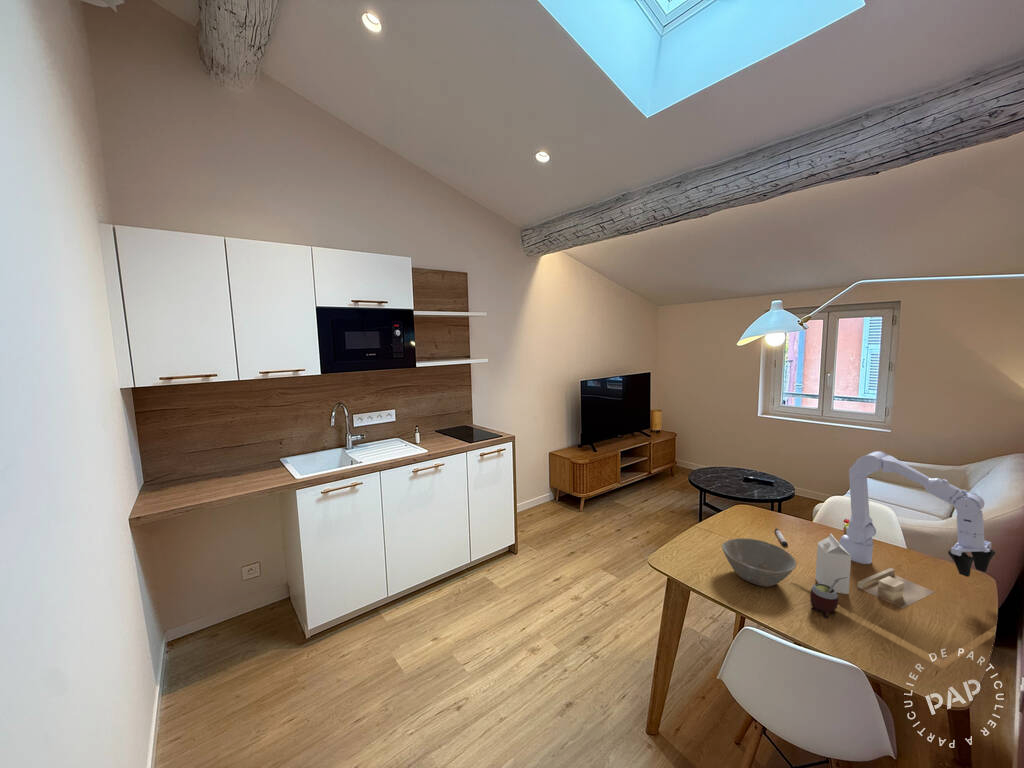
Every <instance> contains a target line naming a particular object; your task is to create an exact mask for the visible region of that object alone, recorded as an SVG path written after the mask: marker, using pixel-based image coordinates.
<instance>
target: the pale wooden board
mask: <svg viewBox="0 0 1024 768" xmlns="http://www.w3.org/2000/svg"><path fill="white" fill-rule="evenodd" d="M895 571H896V569H894V568H893V567H889V568H887V569H884V570H883V571H879V572H877V573H875V574H873V575H870V576H868V577H865V578H863V579H861V580H859V581H857V585H856V587H857V589H860V590H862V591H864V592H866V593H868V594H869V595H872V596H874V597H876V598H878V599H881V600H883V601H884V602H887V603H889V604H891V605H893V606H896V607H897V608H899V609H902V610H903V609H905V608H907V607H909V606H910V605H912V604H914V603H916V602H918V601H921V600H922V599H924V598H926V597H928V596H930V595H932V594H935V591H934V590H932V589H929V588H927V587H924V586H921V585H919V584H917V583H914V582H912V581H911V580H907V579H905V578H903V577H901V576H899V575H896V574H895ZM888 576H890V577H892V578H895V579H897V580H899V581H902V582H904V589H903V597H901V598H899V599H897V600H895V601H893V602H892V601H890V600H888V599H886V598H884V597H882V596H879V595H878V582H879V580H881V579H883V578H886V577H888Z"/></svg>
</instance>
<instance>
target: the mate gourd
mask: <svg viewBox="0 0 1024 768" xmlns="http://www.w3.org/2000/svg"><path fill="white" fill-rule="evenodd" d="M845 578H848V577H841V578H837V579H835V580H834V583H833V585H832V586H831V587H830V586H828V585H825V584H819V583H816V584H814V585H812V586H811V589H810V592H809V595H810V597H809V598H810V604H811V606H812V607H811V608H810V609H811V611H813V612H815V611H816V612H820V613H822V615H823V616H824V618H826V619H829V616H828V614H830V615H836V609H837V607H838V604H839V595H838V593H837V592H835V590H834V589H833V587H834V586H835V584H836V583H837V582H838V581H839V580H841V579H845Z"/></svg>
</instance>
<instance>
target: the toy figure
mask: <svg viewBox="0 0 1024 768" xmlns="http://www.w3.org/2000/svg"><path fill="white" fill-rule="evenodd" d="M849 521H850V519H848V518H845V519H843V529H842V531H843V532H845V533H846V530H847V529H848V527H849Z"/></svg>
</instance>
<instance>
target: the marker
mask: <svg viewBox="0 0 1024 768" xmlns="http://www.w3.org/2000/svg"><path fill="white" fill-rule="evenodd" d="M774 532H775V534H776V536H777V538H778V540H779V541H780V543H781V544H782V546H783V547H785V546H786V547H787V548H788V546H789V544H788V542H787V540H786V538H785V537H784V535H783V534H782V532H781V531H780V529H778V528H777V527H775V529H774ZM786 547H785V548H786Z"/></svg>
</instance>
